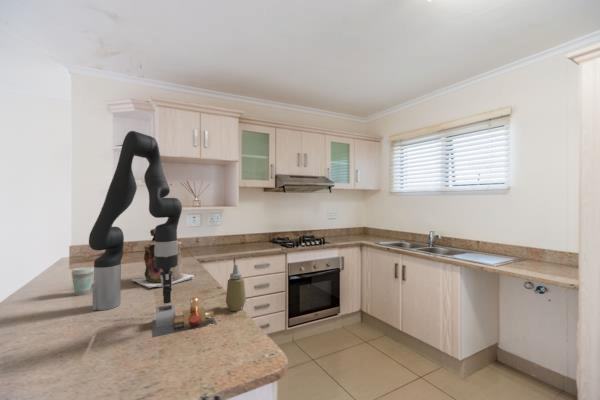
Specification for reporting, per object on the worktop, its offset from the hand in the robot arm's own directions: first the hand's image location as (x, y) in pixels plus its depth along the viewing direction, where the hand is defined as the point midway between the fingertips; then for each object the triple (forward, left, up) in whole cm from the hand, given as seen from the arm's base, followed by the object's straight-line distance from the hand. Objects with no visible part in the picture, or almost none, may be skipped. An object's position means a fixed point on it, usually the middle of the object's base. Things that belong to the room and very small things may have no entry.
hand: (166, 299), depth 97 cm
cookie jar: (0, +62, -10) cm, 63 cm away
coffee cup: (-34, +56, -9) cm, 66 cm away
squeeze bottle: (+26, +3, -9) cm, 27 cm away
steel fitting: (0, 0, -8) cm, 8 cm away
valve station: (+6, -3, -9) cm, 11 cm away
